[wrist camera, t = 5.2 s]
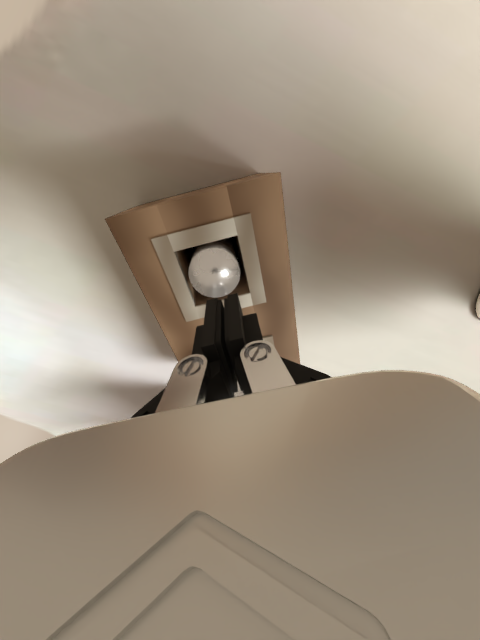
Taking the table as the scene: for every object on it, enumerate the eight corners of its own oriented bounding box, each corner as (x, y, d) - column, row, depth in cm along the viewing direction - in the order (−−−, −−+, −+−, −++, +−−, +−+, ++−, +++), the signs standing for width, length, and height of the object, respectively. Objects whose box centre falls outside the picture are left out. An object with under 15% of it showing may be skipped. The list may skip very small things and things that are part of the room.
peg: (228, 225, 22) (233, 242, 16) (237, 263, 24) (244, 291, 19) (189, 235, 22) (180, 256, 17) (201, 272, 25) (198, 302, 19)
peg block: (259, 173, 21) (281, 172, 14) (284, 346, 33) (303, 391, 26) (138, 205, 22) (103, 219, 15) (206, 365, 34) (204, 413, 27)
